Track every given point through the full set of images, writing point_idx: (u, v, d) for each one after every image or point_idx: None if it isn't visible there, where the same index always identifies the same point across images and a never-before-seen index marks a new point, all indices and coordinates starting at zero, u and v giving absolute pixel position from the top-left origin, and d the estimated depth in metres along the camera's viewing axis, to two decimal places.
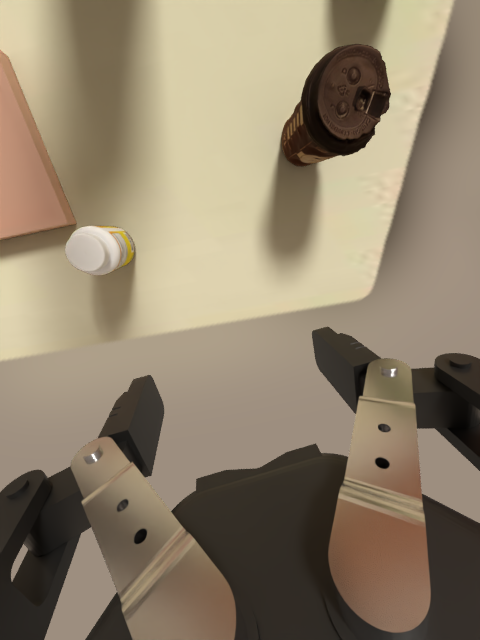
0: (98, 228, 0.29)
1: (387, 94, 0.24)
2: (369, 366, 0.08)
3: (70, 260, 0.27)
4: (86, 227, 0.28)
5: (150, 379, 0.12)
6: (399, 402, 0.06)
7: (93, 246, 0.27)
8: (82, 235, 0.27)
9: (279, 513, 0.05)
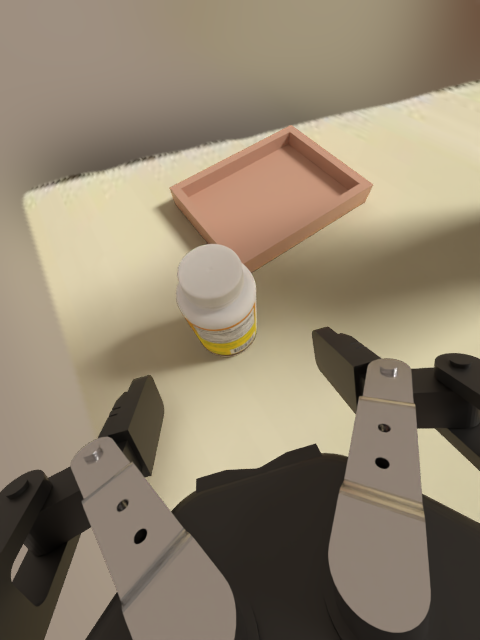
0: (254, 286, 0.17)
1: None
2: (369, 366, 0.08)
3: (189, 254, 0.16)
4: (248, 271, 0.18)
5: (150, 379, 0.12)
6: (399, 402, 0.06)
7: (226, 277, 0.15)
8: (238, 259, 0.15)
9: (279, 513, 0.05)
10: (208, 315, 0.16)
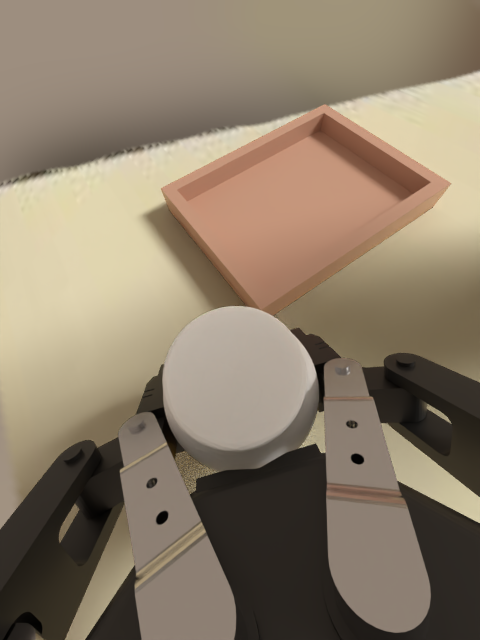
0: (316, 380, 0.09)
1: None
2: (326, 365, 0.09)
3: (189, 329, 0.07)
4: (303, 348, 0.09)
5: None
6: (359, 397, 0.07)
7: (273, 394, 0.07)
8: (296, 346, 0.07)
9: (279, 513, 0.05)
10: (228, 454, 0.08)
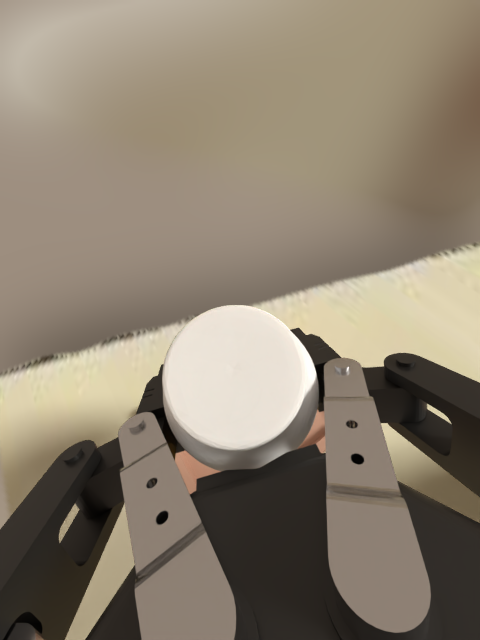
0: (316, 380, 0.09)
1: None
2: (326, 365, 0.09)
3: (189, 329, 0.07)
4: (302, 347, 0.09)
5: None
6: (359, 397, 0.07)
7: (273, 393, 0.07)
8: (295, 346, 0.07)
9: (279, 513, 0.05)
10: (228, 453, 0.08)
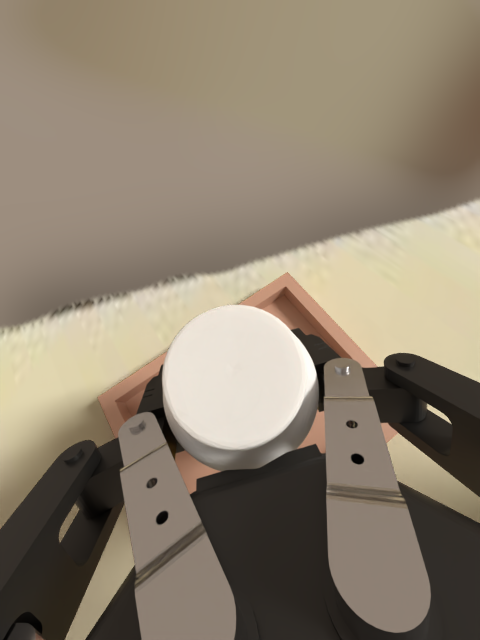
0: (316, 379, 0.09)
1: None
2: (325, 365, 0.09)
3: (189, 328, 0.07)
4: (302, 347, 0.09)
5: None
6: (359, 397, 0.07)
7: (273, 393, 0.07)
8: (295, 345, 0.07)
9: (279, 513, 0.05)
10: (228, 453, 0.08)
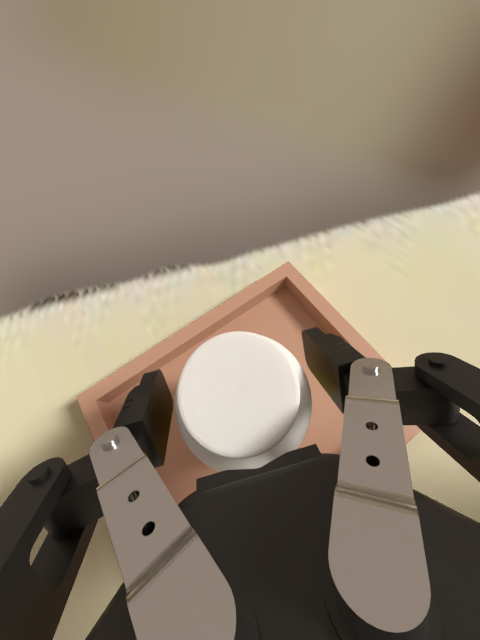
0: (309, 394, 0.10)
1: None
2: (352, 365, 0.09)
3: (200, 352, 0.09)
4: (298, 364, 0.10)
5: (160, 373, 0.12)
6: (384, 400, 0.06)
7: (271, 410, 0.08)
8: (291, 369, 0.08)
9: (279, 513, 0.05)
10: (232, 458, 0.09)
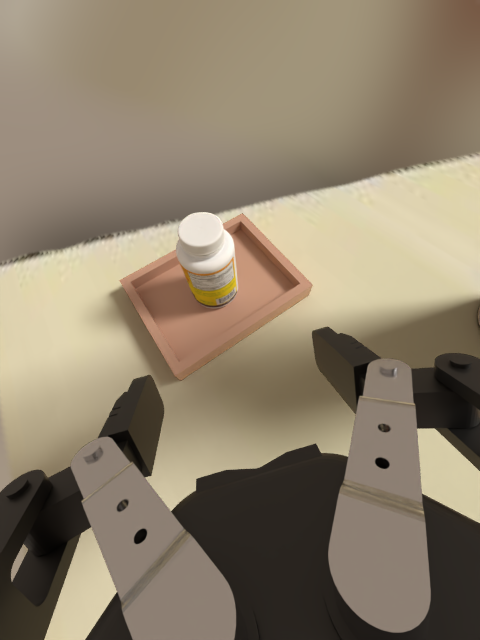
0: (233, 245, 0.24)
1: None
2: (369, 366, 0.08)
3: (186, 218, 0.22)
4: (229, 234, 0.24)
5: (150, 379, 0.12)
6: (399, 402, 0.06)
7: (211, 233, 0.22)
8: (220, 222, 0.22)
9: (279, 513, 0.05)
10: (199, 262, 0.23)
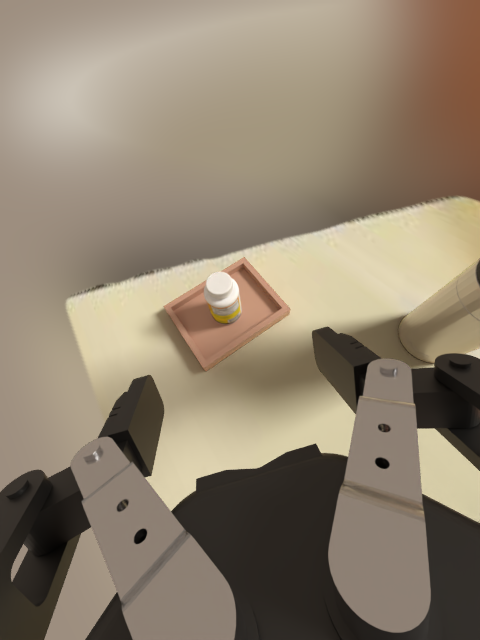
0: (238, 289, 0.40)
1: None
2: (369, 366, 0.08)
3: (210, 276, 0.38)
4: (235, 282, 0.40)
5: (150, 379, 0.12)
6: (399, 402, 0.06)
7: (225, 286, 0.37)
8: (230, 278, 0.38)
9: (279, 513, 0.05)
10: (218, 301, 0.39)
